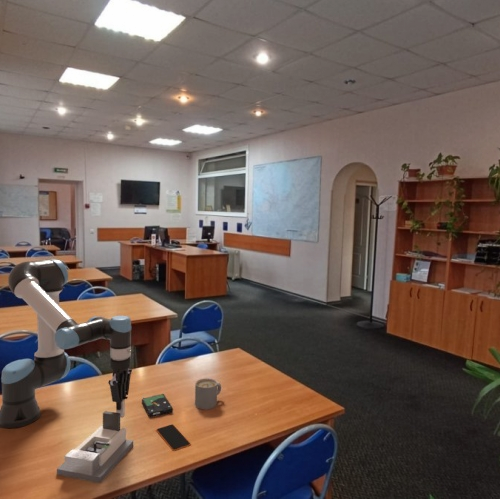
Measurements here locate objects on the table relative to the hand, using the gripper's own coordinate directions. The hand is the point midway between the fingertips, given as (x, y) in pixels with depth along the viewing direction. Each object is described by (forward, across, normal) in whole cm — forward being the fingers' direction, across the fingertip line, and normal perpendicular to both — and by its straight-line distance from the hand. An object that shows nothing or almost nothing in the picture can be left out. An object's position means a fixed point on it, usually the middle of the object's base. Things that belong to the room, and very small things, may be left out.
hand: (120, 416), depth 152 cm
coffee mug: (+8, +35, -24) cm, 43 cm away
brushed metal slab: (+6, -24, 0) cm, 25 cm away
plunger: (+6, -9, 0) cm, 11 cm away
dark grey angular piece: (+6, -17, -1) cm, 18 cm away
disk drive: (+9, +24, -3) cm, 26 cm away
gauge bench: (+8, -15, 0) cm, 17 cm away
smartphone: (+9, +5, -20) cm, 22 cm away
